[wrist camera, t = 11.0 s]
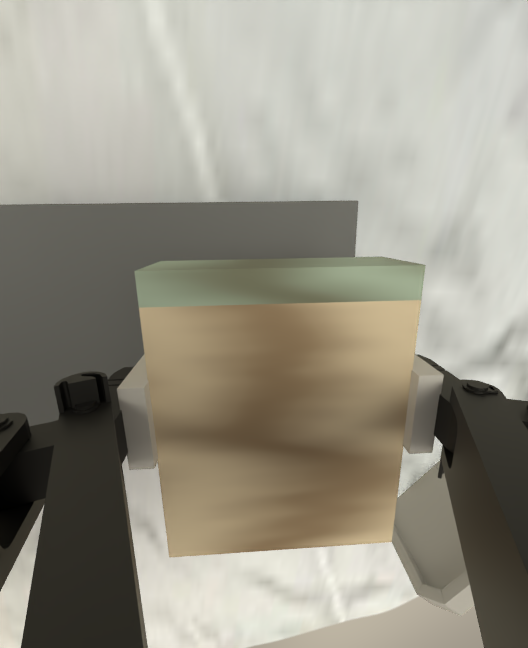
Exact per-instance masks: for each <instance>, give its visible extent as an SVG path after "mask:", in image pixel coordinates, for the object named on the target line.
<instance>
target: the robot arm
mask: <svg viewBox="0 0 528 648" xmlns="http://www.w3.org/2000/svg"><path fill="white" fill-rule="evenodd" d="M54 391H55V396H56V400H57V405H58V410H59V419H58V420H56V421H52V422H48V423H43V424H38V425H34V426H29V423H28V419H27V417H26V415H25V414H22V413H18V412H17V413H5V414H0V591H1V589H2V587H3V585H4V583H5V581H6V579H7V577H8V575H9V573H10V571H11V569H12V567H13V565H14V563H15V561H16V559H17V557H18V555H19V553H20V551H21V549H22V547H23V545H24V543H25V541H26V539H27V537H28V535H29V533H30V531H31V529H32V527H33V525H34V523H35V521H36V519H37V517H38V515H39V513H40V511H41V509H42V507H43V505H44V510H43V516H42V523H41V529H40V535H39V541H38V547H37V553H36V559H35V565H34V571H33V578H32V584H31V590H30V596H29V602H28V608H27V614H26V620H25V626H24V632H23V639H22V645H21V648H148V646H147V639H146V632H145V625H144V618H143V611H142V603H141V596H140V589H139V582H138V575H137V568H136V561H135V554H134V547H133V540H132V533H131V525H130V518H129V511H128V504H127V497H126V490H125V483H124V476H123V470H122V463H123V461H124V459H125V457H126V455H127V457H128V464H129V470H133V469H151V468H155V466H156V463H157V461H158V453H157V445H156V437H155V429H154V421H153V413H152V405H151V397H150V389H149V381H148V378H147V370H146V362H145V354H144V355H143V356H142V358H141V359H140V360H139V361H138V363H137V364H136V365H135V366H134V367H123V368H122V369H120V370H118V371H116V372H115V373H113V374H112V375H111V376H110V377H109V379H108V378H107V375H106V374H105V373H102V372H94V371H90V372H82V373H78V374H74V375H70V376H68V377H65V378H63V379H61V380H60V381H58V382H56V384H55V385H54ZM435 436H436V438H437V439H438V440H439V441H440V442H441V443H442V444H443V446H442V452H441V459H440V465H439V471H438V478H440V479H442V474H445V478H446V482H447V487H448V491H449V496H450V500H451V504H452V509H453V513H454V518H455V522H456V526H457V531H458V535H459V540H460V544H461V548H462V553H463V557H464V561H465V566H466V570H467V575H468V579H469V583H470V588H471V592H472V597H473V601H474V605H475V609H476V614H477V618H478V623H479V627H480V632H481V636H482V640H483V645H484V648H528V401H521V400H511V399H506V397H505V396H504V394H503V393H502V392H501V391H500V390H499V389H498V388H496V387H494V386H492V385H489V384H486V383H483V382H480V381H475V380H459V379H458V378H456V377H455V376H454V375H452V374H451V373H449V372H448V371H445V369H444V368H442V367H441V366H438V364H436V363H435V362H433V361H432V360H431V359H428V358H426V357H423V356H421V355H416V354H414V363H413V370H412V372H411V381H410V389H409V398H408V406H407V414H406V423H405V431H404V440H403V446H404V447H405V449H406V450H407V451H408V453H409V454H415V453H432V451H433V444H434V437H435ZM44 503H45V504H44Z"/></svg>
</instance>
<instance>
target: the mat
mask: <svg viewBox="0 0 528 648" xmlns="http://www.w3.org/2000/svg"><path fill="white" fill-rule="evenodd" d="M357 211H358V201H295V202H208V203H121V204H35V205H0V414H5V413H17V412H18V413H22V414H25V415H26V417H27V419H28V423H29V426H34V425H38V424H43V423H48V422H52V421H56V420H58V419H59V410H58V405H57V400H56V396H55V391H54V385H55V384H56V382H58V381H60V380H61V379H63V378H65V377H68V376H70V375H74V374H78V373H82V372H90V371H94V372H102V373H105V374H106V375H107V378H108V379H109V377H110V376H111V375H112V374H113V373H115V372H116V371H118V370H120V369H122V368H123V367H134V366H135V365H136V364H137V363H138V361H139V360H140V359H141V358H142V356H143V355H144V345H143V337H142V329H141V321H140V313H139V305H138V296H137V288H136V280H135V272H134V271H136V270H139V269H141V268H144V267H147V266H149V265H152V264H155V263H157V262H160V261H185V260H238V259H290V258H343V257H355V244H356V228H357Z"/></svg>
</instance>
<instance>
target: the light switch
mask: <svg viewBox="0 0 528 648" xmlns="http://www.w3.org/2000/svg"><path fill="white" fill-rule="evenodd" d="M439 465H440V461H439V462H438V463H437V464H436V465H434V466H433V467H432V468H431V469H430V470H429V471H428V472H427V473H425V474H424V475H423V476H422V477H421V478H420V479H419V480H418V481H416V482H415V483H414V484H413V485H412V486H411V487H410V488H409V489H407V490H406V491H405V492H404V493H403V494H402V495H401V496H400V497H399V498H397V502H396V510H395V519H394V527H393V535H392V543H393V545H394V547H395V550H396V552H397V554H398V556H399V558H400V560H401V562H402V564H403V566H404V568H405V570H406V572H407V574H408V576H409V579H410V581H411V583H412V585H413V587H414V589H415V591H416V593H417V595H419V596H420V597H422V598H423V599H425V600H426V601H428V602H429V603H431V604H432V605H434V606H437V607H439V608H442V609H444V610H447V611H449V612H452V613H455V614H457V615H460V616H462V615H464V614H465V613H466V612H467V611H469V610H470V609H471V608H473V607H474V606H475V605H474V601H473V597H472V592H471V588H470V583H469V579H468V575H467V570H466V566H465V561H464V557H463V553H462V548H461V544H460V540H459V535H458V531H457V526H456V522H455V518H454V513H453V509H452V504H451V500H450V496H449V491H448V487H447V482H446V478H445V474H442V479H440V478H438V471H439Z"/></svg>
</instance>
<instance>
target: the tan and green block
mask: <svg viewBox="0 0 528 648" xmlns="http://www.w3.org/2000/svg"><path fill="white" fill-rule="evenodd" d="M134 272H135V280H136V288H137V296H138V305H139V313H140V321H141V329H142V337H143V345H144V354H145V362H146V370H147V378H148V381H149V389H150V397H151V405H152V413H153V421H154V429H155V437H156V445H157V453H158V468H159V476H160V484H161V493H162V501H163V509H164V517H165V525H166V533H167V542H168V550H169V557H182V556H196V555H210V554H225V553H239V552H254V551H268V550H282V549H297V548H311V547H326V546H340V545H355V544H369V543H383V542H392V535H393V527H394V519H395V510H396V502H397V494H398V486H399V478H400V469H401V461H402V453H403V440H404V431H405V423H406V414H407V406H408V398H409V389H410V381H411V372H412V370H413V363H414V354H415V346H416V338H417V330H418V322H419V313H420V305H421V297H422V289H423V281H424V272H425V265H422V264H417V263H412V262H407V261H401V260H396V259H391V258H386V257H343V258H290V259H238V260H185V261H160V262H157V263H155V264H152V265H149V266H147V267H144V268H141V269H139V270H136V271H134Z"/></svg>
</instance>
